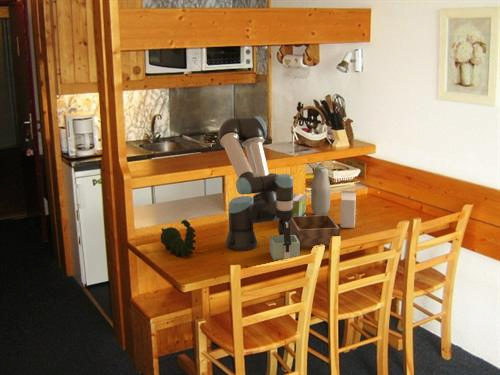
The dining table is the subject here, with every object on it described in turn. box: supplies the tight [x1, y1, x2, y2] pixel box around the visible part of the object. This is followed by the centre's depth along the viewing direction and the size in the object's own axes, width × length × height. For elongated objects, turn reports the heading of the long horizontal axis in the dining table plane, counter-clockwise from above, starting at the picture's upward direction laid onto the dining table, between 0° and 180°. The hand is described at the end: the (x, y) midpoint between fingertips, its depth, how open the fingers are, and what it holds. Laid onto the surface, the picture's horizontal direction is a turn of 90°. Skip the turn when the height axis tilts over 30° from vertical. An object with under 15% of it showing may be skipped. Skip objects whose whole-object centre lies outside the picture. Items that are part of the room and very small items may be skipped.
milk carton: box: [339, 190, 357, 229], centre depth 342 cm, size 7×7×19 cm
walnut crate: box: [290, 214, 341, 249], centre depth 322 cm, size 20×22×9 cm
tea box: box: [288, 192, 307, 223], centre depth 348 cm, size 15×10×15 cm, turn 161°
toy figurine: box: [160, 219, 197, 258], centre depth 306 cm, size 9×19×25 cm
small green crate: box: [269, 235, 301, 262], centre depth 301 cm, size 12×11×8 cm
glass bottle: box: [310, 165, 332, 215], centre depth 359 cm, size 10×10×28 cm
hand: (284, 253), depth 302 cm, fingers open, 13 cm apart
